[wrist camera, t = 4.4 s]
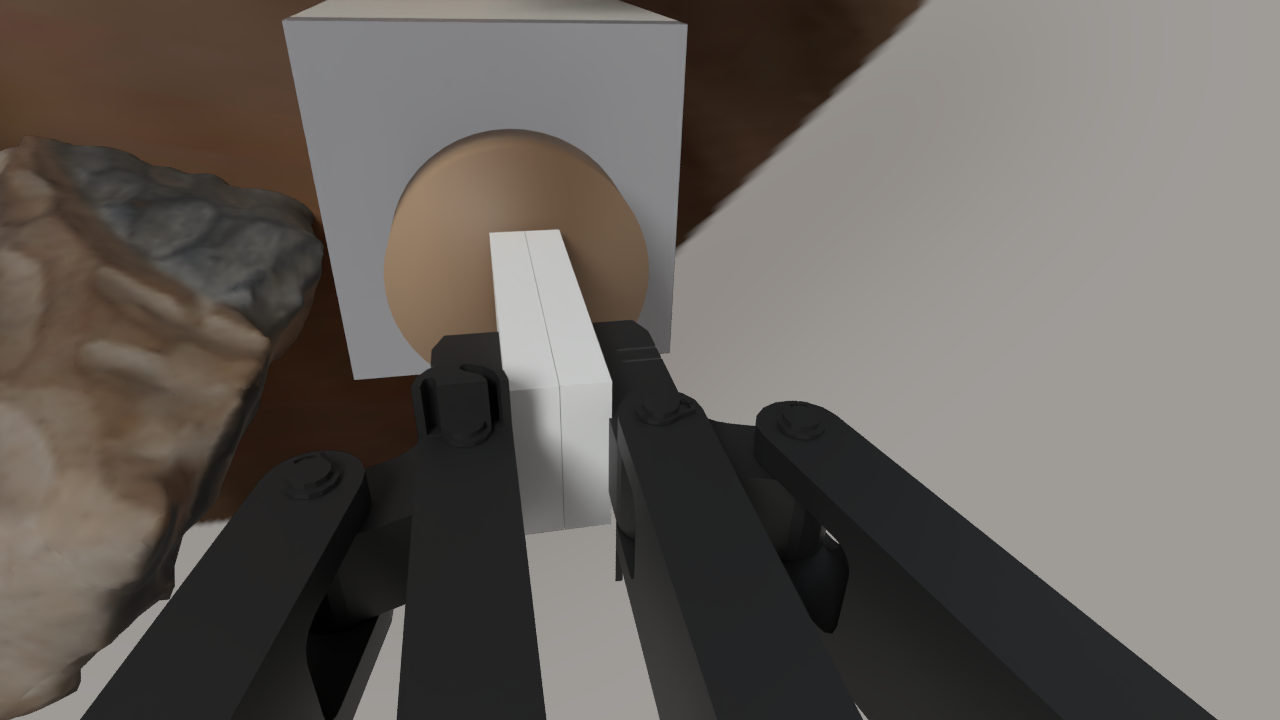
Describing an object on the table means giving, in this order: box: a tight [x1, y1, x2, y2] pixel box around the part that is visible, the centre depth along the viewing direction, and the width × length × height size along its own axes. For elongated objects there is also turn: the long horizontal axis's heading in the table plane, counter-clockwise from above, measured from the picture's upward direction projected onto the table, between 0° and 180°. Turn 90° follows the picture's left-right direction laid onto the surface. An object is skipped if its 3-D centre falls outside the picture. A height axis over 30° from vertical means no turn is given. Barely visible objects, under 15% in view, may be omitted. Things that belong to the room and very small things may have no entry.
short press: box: [282, 0, 688, 380], centre depth 27 cm, size 10×10×15 cm
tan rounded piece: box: [384, 129, 649, 365], centre depth 23 cm, size 7×7×16 cm
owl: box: [0, 136, 324, 720], centre depth 26 cm, size 13×13×20 cm
